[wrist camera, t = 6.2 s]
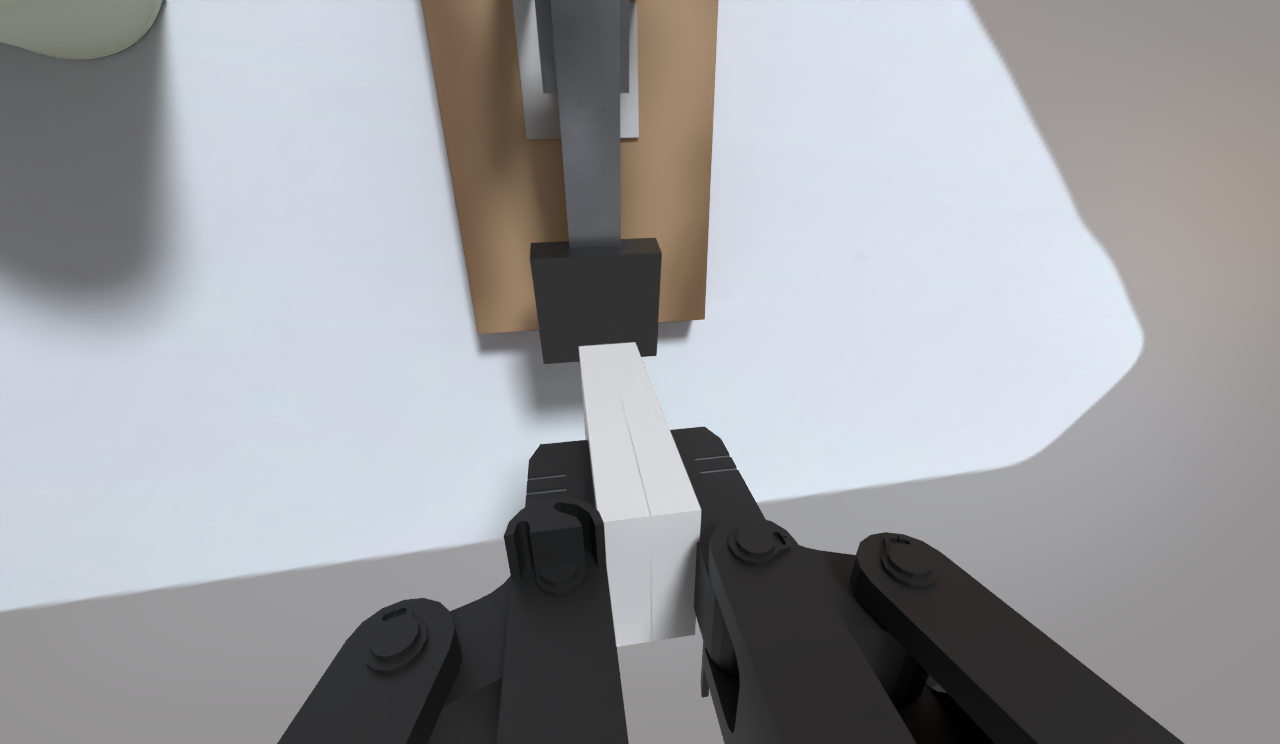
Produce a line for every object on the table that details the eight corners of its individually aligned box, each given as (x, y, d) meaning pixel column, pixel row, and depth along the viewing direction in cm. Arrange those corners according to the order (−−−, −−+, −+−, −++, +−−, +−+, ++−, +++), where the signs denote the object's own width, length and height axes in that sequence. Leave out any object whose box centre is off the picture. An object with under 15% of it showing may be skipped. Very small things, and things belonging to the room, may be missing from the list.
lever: (544, 310, 25) (544, 364, 21) (483, -186, 14) (463, -234, 11) (642, 304, 25) (656, 355, 22) (655, -175, 15) (687, -216, 11)
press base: (483, 321, 27) (438, 424, 17) (413, -112, 19) (257, -384, 9) (695, 308, 28) (767, 395, 18) (709, -99, 21) (844, -320, 11)
